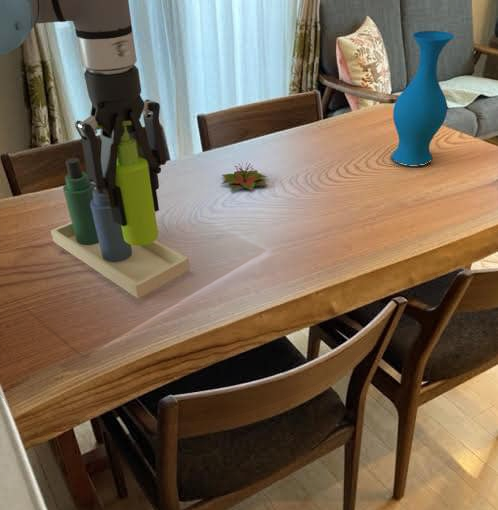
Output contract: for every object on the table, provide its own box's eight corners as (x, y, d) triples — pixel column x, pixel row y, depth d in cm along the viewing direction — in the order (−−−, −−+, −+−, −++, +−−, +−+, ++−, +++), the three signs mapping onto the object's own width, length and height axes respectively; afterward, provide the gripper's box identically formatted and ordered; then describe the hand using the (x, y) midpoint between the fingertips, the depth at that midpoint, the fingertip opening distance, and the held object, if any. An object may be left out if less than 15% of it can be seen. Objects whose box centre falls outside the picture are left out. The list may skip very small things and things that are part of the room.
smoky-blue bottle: (96, 254, 102) (77, 175, 92) (120, 243, 105) (105, 165, 95) (113, 265, 99) (95, 184, 89) (138, 253, 102) (123, 173, 92)
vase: (378, 163, 133) (395, 38, 115) (397, 146, 141) (416, 27, 123) (426, 174, 128) (451, 44, 110) (443, 155, 136) (469, 32, 118)
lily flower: (261, 169, 132) (261, 150, 129) (277, 189, 123) (277, 170, 120) (213, 176, 129) (212, 157, 126) (226, 197, 120) (225, 178, 118)
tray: (54, 244, 107) (50, 230, 105) (103, 222, 113) (100, 209, 111) (138, 301, 91) (135, 286, 90) (190, 272, 98) (188, 258, 96)
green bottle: (71, 238, 107) (50, 161, 97) (95, 227, 110) (77, 151, 100) (86, 248, 104) (66, 169, 94) (110, 237, 107) (94, 159, 97)
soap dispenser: (115, 232, 94) (91, 115, 81) (155, 225, 95) (137, 110, 82) (119, 249, 89) (95, 129, 76) (161, 242, 91) (143, 122, 78)
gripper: (65, 88, 68) (101, 245, 83) (179, 57, 78) (194, 202, 93) (35, 77, 72) (75, 229, 87) (148, 49, 82) (166, 189, 97)
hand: (136, 215), depth 90 cm, fingers closed on soap dispenser, 6 cm apart
